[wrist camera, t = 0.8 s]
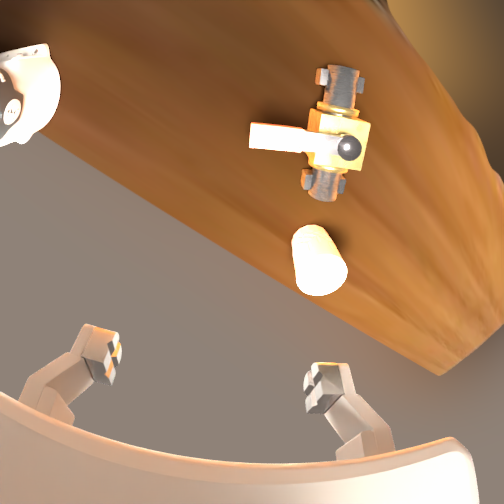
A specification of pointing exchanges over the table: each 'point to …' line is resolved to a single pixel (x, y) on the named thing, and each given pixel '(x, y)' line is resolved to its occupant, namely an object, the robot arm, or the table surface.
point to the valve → (334, 131)
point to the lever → (303, 140)
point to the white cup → (317, 261)
